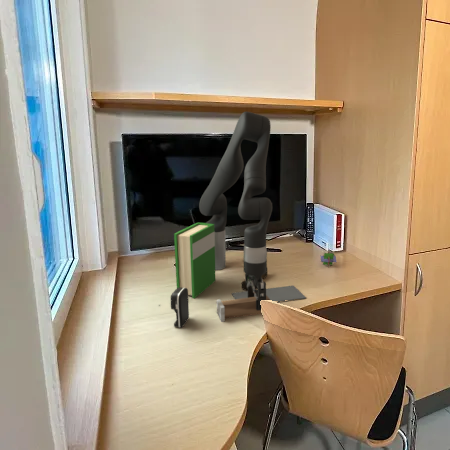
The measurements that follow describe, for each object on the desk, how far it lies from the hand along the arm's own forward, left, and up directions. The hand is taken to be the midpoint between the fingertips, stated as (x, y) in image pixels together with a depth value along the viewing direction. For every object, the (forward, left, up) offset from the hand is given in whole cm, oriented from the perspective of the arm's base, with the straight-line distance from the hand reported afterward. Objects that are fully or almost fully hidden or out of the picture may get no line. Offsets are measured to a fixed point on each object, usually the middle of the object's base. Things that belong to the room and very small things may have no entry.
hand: (254, 304), depth 122 cm
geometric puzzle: (-32, +46, -3) cm, 56 cm away
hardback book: (-25, -15, -3) cm, 30 cm away
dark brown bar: (-24, +9, -4) cm, 26 cm away
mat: (-10, +9, -3) cm, 14 cm away
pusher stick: (0, -3, -3) cm, 5 cm away
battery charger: (0, -25, -3) cm, 26 cm away
